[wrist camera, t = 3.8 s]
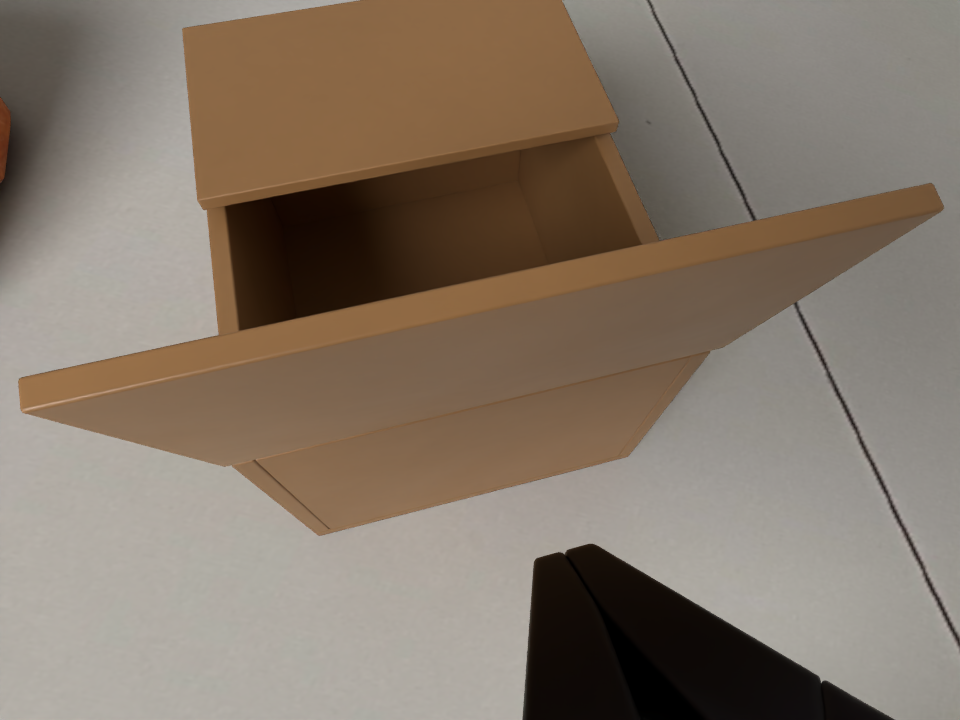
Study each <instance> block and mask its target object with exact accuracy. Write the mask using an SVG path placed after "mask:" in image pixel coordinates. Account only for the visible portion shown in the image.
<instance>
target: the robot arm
mask: <svg viewBox="0 0 960 720" xmlns="http://www.w3.org/2000/svg"><path fill="white" fill-rule="evenodd" d="M523 720H894V719H893V718H891V717H889V716H887V715H885V714H884V713H882V712H880V711H878V710H877V709H875V708H873V707H871V706H869V705H868V704H866V703H864V702H862V701H861V700H859V699H857V698H855V697H854V696H852V695H850V694H849V693H847V692H845V691H843V690H842V689H840V688H838V687H837V686H835V685H833V684H832V683H830V682H828V681H823V682H822V683H821V680H820V677H819V676H817V675H816V674H814V673H812V672H811V671H809V670H807V669H806V668H804V667H802V666H801V665H799V664H797V663H795V662H794V661H792V660H790V659H789V658H787V657H785V656H784V655H782V654H780V653H779V652H777V651H775V650H773V649H772V648H770V647H768V646H767V645H765V644H763V643H762V642H760V641H758V640H756V639H755V638H753V637H751V636H750V635H748V634H746V633H745V632H743V631H741V630H740V629H738V628H736V627H734V626H733V625H731V624H729V623H728V622H726V621H724V620H723V619H721V618H719V617H717V616H716V615H714V614H712V613H711V612H709V611H707V610H706V609H704V608H702V607H701V606H699V605H697V604H695V603H694V602H692V601H690V600H689V599H687V598H685V597H684V596H682V595H680V594H678V593H677V592H675V591H673V590H672V589H670V588H668V587H667V586H665V585H663V584H662V583H660V582H658V581H656V580H655V579H653V578H651V577H650V576H648V575H646V574H645V573H643V572H641V571H639V570H638V569H636V568H634V567H633V566H631V565H629V564H628V563H626V562H624V561H623V560H621V559H619V558H617V557H616V556H614V555H612V554H611V553H609V552H607V551H606V550H604V549H602V548H600V547H599V546H597V545H595V544H587V545H583V546H579V547H576V548H572V549H569V550H567V551H566V553H565V555H564V554H563V553H560V552H558V553H554V554H550V555H547V556H543V557H539V558H537V559H536V560H535V561H534V568H533V582H532V596H531V610H530V624H529V637H528V651H527V665H526V679H525V693H524V707H523Z"/></svg>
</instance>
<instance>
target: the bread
mask: <svg viewBox="0 0 960 720" xmlns="http://www.w3.org/2000/svg"><path fill="white" fill-rule="evenodd" d="M10 126H11V116H10V110H9V109H8V108H7V106H6V105H5V103H4V102H3V100H2V99H1V97H0V183H1V181H2V180H3V178H4V176H5V168H6V160H7V151H8V143H9V135H10Z"/></svg>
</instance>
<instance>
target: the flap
mask: <svg viewBox="0 0 960 720" xmlns="http://www.w3.org/2000/svg"><path fill="white" fill-rule="evenodd" d="M943 209H944V206H943V204H942V201H941V199H940V197H939V195H938V193H937V191H936V189H935V186H934V185H933V184H932V183H928V184H923V185H919V186H914V187H909V188H905V189H900V190H895V191H891V192H886V193H881V194H877V195H872V196H867V197H863V198H858V199H853V200H849V201H844V202H839V203H835V204H830V205H825V206H821V207H816V208H811V209H807V210H802V211H797V212H793V213H788V214H783V215H779V216H774V217H769V218H765V219H760V220H755V221H751V222H746V223H741V224H736V225H732V226H727V227H722V228H718V229H713V230H708V231H704V232H699V233H694V234H690V235H685V236H680V237H676V238H671V239H666V240H662V241H657V242H652V243H648V244H643V245H638V246H634V247H629V248H624V249H620V250H615V251H610V252H606V253H601V254H596V255H592V256H587V257H582V258H578V259H573V260H568V261H564V262H559V263H554V264H549V265H545V266H540V267H535V268H531V269H526V270H521V271H517V272H512V273H507V274H503V275H498V276H493V277H489V278H484V279H479V280H475V281H470V282H465V283H461V284H456V285H451V286H447V287H442V288H437V289H433V290H428V291H423V292H419V293H414V294H409V295H405V296H400V297H395V298H391V299H386V300H381V301H377V302H372V303H367V304H363V305H358V306H353V307H348V308H344V309H339V310H334V311H330V312H325V313H320V314H316V315H311V316H306V317H302V318H297V319H292V320H288V321H283V322H278V323H274V324H269V325H264V326H260V327H255V328H250V329H246V330H241V331H236V332H232V333H227V334H222V335H218V336H213V337H208V338H204V339H199V340H194V341H190V342H185V343H180V344H176V345H171V346H166V347H161V348H157V349H152V350H147V351H143V352H138V353H133V354H129V355H124V356H119V357H115V358H110V359H105V360H101V361H96V362H91V363H87V364H82V365H77V366H73V367H68V368H63V369H59V370H54V371H49V372H45V373H40V374H35V375H31V376H26V377H22V378H20V379H19V381H18V383H19V396H20V408H21V411H22V412H23V413H25V414H29V415H33V416H36V417H40V418H44V419H48V420H51V421H55V422H59V423H63V424H66V425H70V426H74V427H78V428H81V429H85V430H89V431H93V432H96V433H100V434H104V435H107V436H111V437H115V438H119V439H122V440H126V441H130V442H134V443H137V444H141V445H145V446H149V447H152V448H156V449H160V450H164V451H167V452H171V453H175V454H179V455H182V456H186V457H190V458H193V459H197V460H201V461H205V462H208V463H212V464H216V465H220V466H224V467H225V466H230V465H234V464H238V463H242V462H246V461H251V460H255V459H259V458H263V457H267V456H271V455H276V454H280V453H284V452H288V451H292V450H297V449H301V448H305V447H309V446H313V445H318V444H322V443H326V442H330V441H334V440H338V439H343V438H347V437H351V436H355V435H359V434H364V433H368V432H372V431H376V430H380V429H384V428H389V427H393V426H397V425H401V424H405V423H410V422H414V421H418V420H422V419H426V418H431V417H435V416H439V415H443V414H447V413H451V412H456V411H460V410H464V409H468V408H472V407H477V406H481V405H485V404H489V403H493V402H498V401H502V400H506V399H510V398H514V397H518V396H523V395H527V394H531V393H535V392H539V391H544V390H548V389H552V388H556V387H560V386H565V385H569V384H573V383H577V382H581V381H585V380H590V379H594V378H598V377H602V376H606V375H611V374H615V373H619V372H623V371H627V370H631V369H636V368H640V367H644V366H648V365H652V364H657V363H661V362H665V361H669V360H673V359H678V358H682V357H686V356H690V355H694V354H698V353H703V352H707V351H711V350H715V349H719V348H723V347H725V346H726V345H728V344H729V343H731V342H733V341H734V340H736V339H737V338H739V337H741V336H742V335H744V334H746V333H747V332H749V331H750V330H752V329H754V328H755V327H757V326H758V325H760V324H762V323H763V322H765V321H766V320H768V319H770V318H771V317H773V316H774V315H776V314H778V313H779V312H781V311H782V310H784V309H786V308H787V307H789V306H790V305H792V304H794V303H795V302H797V301H798V300H800V299H802V298H803V297H805V296H806V295H808V294H810V293H811V292H813V291H814V290H816V289H818V288H819V287H821V286H823V285H824V284H826V283H827V282H829V281H831V280H832V279H834V278H835V277H837V276H839V275H840V274H842V273H843V272H845V271H847V270H848V269H850V268H851V267H853V266H855V265H856V264H858V263H859V262H861V261H863V260H864V259H866V258H867V257H869V256H871V255H872V254H874V253H875V252H877V251H879V250H880V249H882V248H883V247H885V246H887V245H888V244H890V243H891V242H893V241H895V240H896V239H898V238H900V237H901V236H903V235H904V234H906V233H908V232H909V231H911V230H912V229H914V228H916V227H917V226H919V225H920V224H922V223H924V222H925V221H927V220H928V219H930V218H932V217H933V216H935V215H936V214H938V213H940V212H941V211H942V210H943Z"/></svg>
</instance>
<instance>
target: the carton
mask: <svg viewBox="0 0 960 720" xmlns="http://www.w3.org/2000/svg"><path fill="white" fill-rule="evenodd" d="M182 32H183V43H184V55H185V66H186V77H187V88H188V100H189V111H190V122H191V133H192V145H193V156H194V167H195V179H196V190H197V200H198V202H199V204H200V205H201V207H202V209H203V210H207V217H208V228H209V238H210V249H211V259H212V269H213V280H214V290H215V301H216V311H217V322H218V332H219V335H222V334H227V333H232V332H236V331H241V330H246V329H250V328H255V327H260V326H264V325H269V324H274V323H278V322H283V321H288V320H292V319H297V318H302V317H306V316H311V315H316V314H320V313H325V312H330V311H334V310H339V309H344V308H348V307H353V306H358V305H363V304H367V303H372V302H377V301H381V300H386V299H391V298H395V297H400V296H405V295H409V294H414V293H419V292H423V291H428V290H433V289H437V288H442V287H447V286H451V285H456V284H461V283H465V282H470V281H475V280H479V279H484V278H489V277H493V276H498V275H503V274H507V273H512V272H517V271H521V270H526V269H531V268H535V267H540V266H545V265H549V264H554V263H559V262H564V261H568V260H573V259H578V258H582V257H587V256H592V255H596V254H601V253H606V252H610V251H615V250H620V249H624V248H629V247H634V246H638V245H643V244H648V243H652V242H657V241H660V240H659V238H658V236H657V234H656V232H655V230H654V227H653V225H652V223H651V221H650V219H649V217H648V214H647V212H646V210H645V208H644V206H643V204H642V201H641V199H640V197H639V195H638V193H637V191H636V188H635V186H634V184H633V182H632V180H631V178H630V175H629V173H628V171H627V169H626V167H625V165H624V163H623V160H622V158H621V156H620V154H619V152H618V150H617V147H616V145H615V143H614V141H613V139H612V137H611V134H610V133H612V132H616V131H617V127H618V124H619V120H618V117H617V115H616V113H615V111H614V109H613V107H612V105H611V103H610V101H609V98H608V96H607V94H606V92H605V90H604V88H603V86H602V84H601V82H600V80H599V77H598V75H597V73H596V71H595V69H594V67H593V65H592V63H591V61H590V59H589V56H588V54H587V52H586V50H585V48H584V46H583V44H582V42H581V40H580V38H579V35H578V33H577V31H576V29H575V27H574V25H573V23H572V21H571V19H570V16H569V14H568V12H567V10H566V8H565V6H564V4H563V2H562V0H360V1H354V2H347V3H341V4H334V5H328V6H322V7H315V8H309V9H302V10H296V11H289V12H283V13H276V14H270V15H264V16H257V17H251V18H244V19H238V20H231V21H225V22H218V23H212V24H206V25H199V26H193V27H186V28H183V29H182ZM709 353H710V351H707V352H703V353H698V354H694V355H690V356H686V357H682V358H678V359H673V360H669V361H665V362H661V363H657V364H652V365H648V366H644V367H640V368H636V369H631V370H627V371H623V372H619V373H615V374H611V375H606V376H602V377H598V378H594V379H590V380H585V381H581V382H577V383H573V384H569V385H565V386H560V387H556V388H552V389H548V390H544V391H539V392H535V393H531V394H527V395H523V396H518V397H514V398H510V399H506V400H502V401H498V402H493V403H489V404H485V405H481V406H477V407H472V408H468V409H464V410H460V411H456V412H451V413H447V414H443V415H439V416H435V417H431V418H426V419H422V420H418V421H414V422H410V423H405V424H401V425H397V426H393V427H389V428H384V429H380V430H376V431H372V432H368V433H364V434H359V435H355V436H351V437H347V438H343V439H338V440H334V441H330V442H326V443H322V444H318V445H313V446H309V447H305V448H301V449H297V450H292V451H288V452H284V453H280V454H276V455H271V456H267V457H263V458H259V459H255V460H251V461H246V462H242V463H238V464H234V465H232V467H233V468H235V469H236V470H237V471H238V472H240V473H241V474H242V475H243V476H245V477H246V478H247V479H248V480H250V481H251V482H252V483H253V484H255V485H256V486H257V487H258V488H260V489H261V490H262V491H263V492H265V493H266V494H267V495H268V496H270V497H271V498H272V499H273V500H275V501H276V502H277V503H278V504H280V505H281V506H282V507H283V508H285V509H286V510H287V511H288V512H290V513H291V514H292V515H293V516H295V517H296V518H297V519H298V520H300V521H301V522H302V523H303V524H305V525H306V526H307V527H308V528H310V529H311V530H312V531H313V532H315V533H316V534H317V535H318V536H321V535H325V534H329V533H333V532H336V531H340V530H344V529H348V528H352V527H356V526H360V525H364V524H368V523H372V522H375V521H379V520H383V519H387V518H391V517H395V516H399V515H403V514H407V513H411V512H414V511H418V510H422V509H426V508H430V507H434V506H438V505H442V504H446V503H450V502H453V501H457V500H461V499H465V498H469V497H473V496H477V495H481V494H485V493H489V492H492V491H496V490H500V489H504V488H508V487H512V486H516V485H520V484H524V483H528V482H531V481H535V480H539V479H543V478H547V477H551V476H555V475H559V474H563V473H566V472H570V471H574V470H578V469H582V468H586V467H590V466H594V465H598V464H602V463H605V462H609V461H613V460H617V459H621V458H625V457H628V456H629V455H630V453H631V452H632V451H633V450H634V448H635V447H636V446H637V445H638V443H639V442H640V441H641V439H642V438H643V437H644V436H645V434H646V433H647V432H648V431H649V429H650V428H651V427H652V425H653V424H654V423H655V422H656V420H657V419H658V418H659V417H660V415H661V414H662V413H663V412H664V410H665V409H666V408H667V406H668V405H669V404H670V403H671V401H672V400H673V399H674V398H675V396H676V395H677V394H678V392H679V391H680V390H681V389H682V387H683V386H684V385H685V384H686V382H687V381H688V380H689V379H690V377H691V376H692V375H693V373H694V372H695V371H696V370H697V368H698V367H699V366H700V365H701V363H702V362H703V361H704V360H705V358H706V357H707V356H708V354H709Z"/></svg>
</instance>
